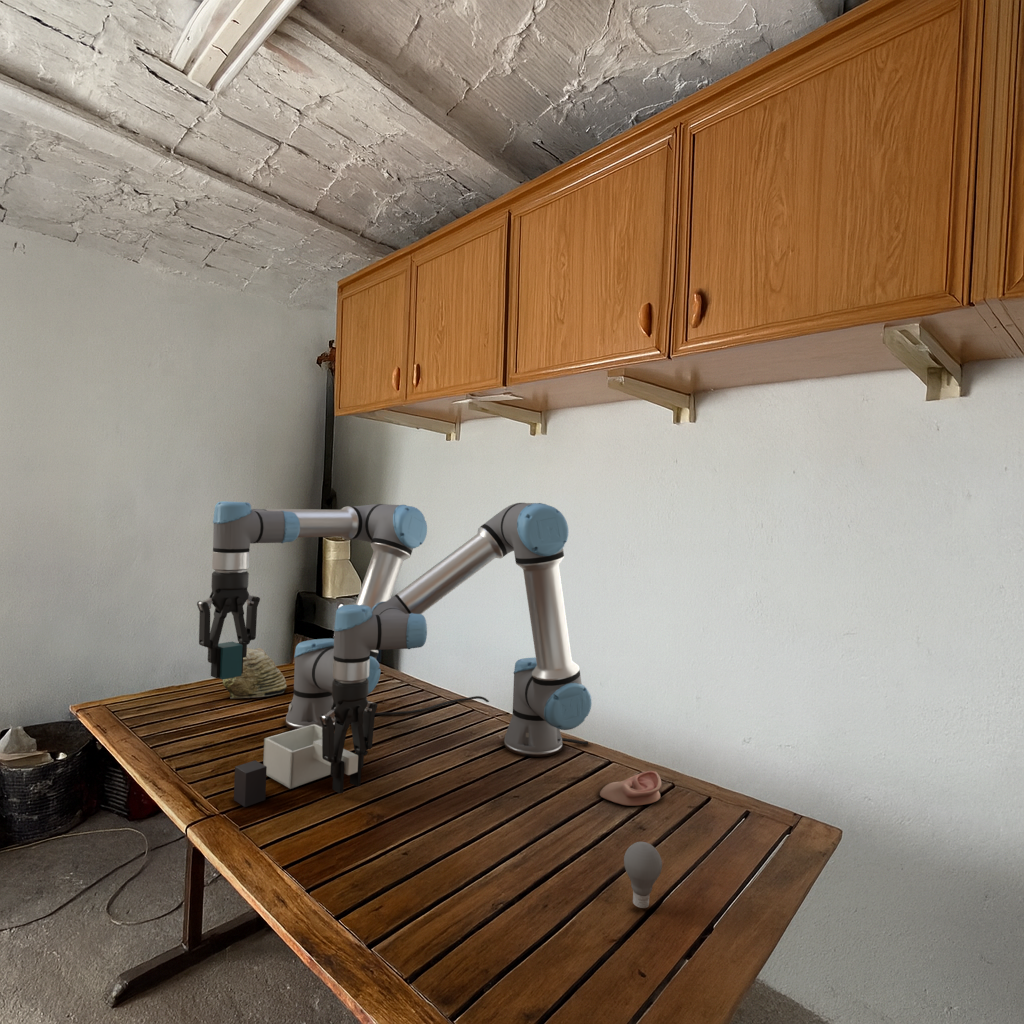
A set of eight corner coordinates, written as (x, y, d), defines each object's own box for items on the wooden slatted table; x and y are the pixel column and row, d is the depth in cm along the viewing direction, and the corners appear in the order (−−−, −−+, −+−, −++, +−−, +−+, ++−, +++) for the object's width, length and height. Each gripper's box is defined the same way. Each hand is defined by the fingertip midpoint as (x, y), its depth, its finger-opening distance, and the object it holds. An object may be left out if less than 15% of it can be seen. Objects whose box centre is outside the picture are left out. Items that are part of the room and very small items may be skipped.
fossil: (218, 695, 195) (220, 647, 195) (278, 685, 208) (279, 640, 207) (228, 703, 189) (230, 653, 188) (289, 692, 201) (290, 645, 201)
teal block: (231, 671, 145) (232, 641, 145) (241, 675, 142) (242, 644, 142) (212, 675, 141) (213, 644, 141) (221, 679, 138) (223, 648, 138)
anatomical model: (599, 783, 136) (602, 762, 148) (598, 802, 136) (601, 779, 148) (662, 792, 134) (661, 769, 145) (661, 810, 134) (660, 787, 145)
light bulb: (617, 894, 104) (620, 834, 104) (653, 893, 105) (656, 834, 105) (627, 918, 98) (630, 854, 98) (664, 917, 99) (668, 854, 99)
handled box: (313, 756, 154) (314, 720, 154) (376, 787, 139) (378, 748, 139) (262, 773, 144) (264, 734, 143) (325, 809, 129) (327, 766, 129)
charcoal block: (254, 792, 134) (255, 760, 134) (265, 799, 131) (266, 766, 131) (233, 800, 131) (234, 766, 131) (244, 807, 128) (246, 773, 128)
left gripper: (258, 566, 150) (254, 664, 151) (182, 571, 137) (178, 678, 137) (275, 570, 146) (272, 670, 146) (198, 575, 132) (194, 686, 132)
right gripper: (371, 668, 144) (367, 770, 144) (305, 682, 130) (301, 795, 131) (392, 674, 139) (388, 780, 139) (327, 690, 126) (323, 807, 126)
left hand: (226, 674), depth 142 cm, fingers closed on teal block, 4 cm apart
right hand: (346, 787), depth 135 cm, fingers open, 4 cm apart
